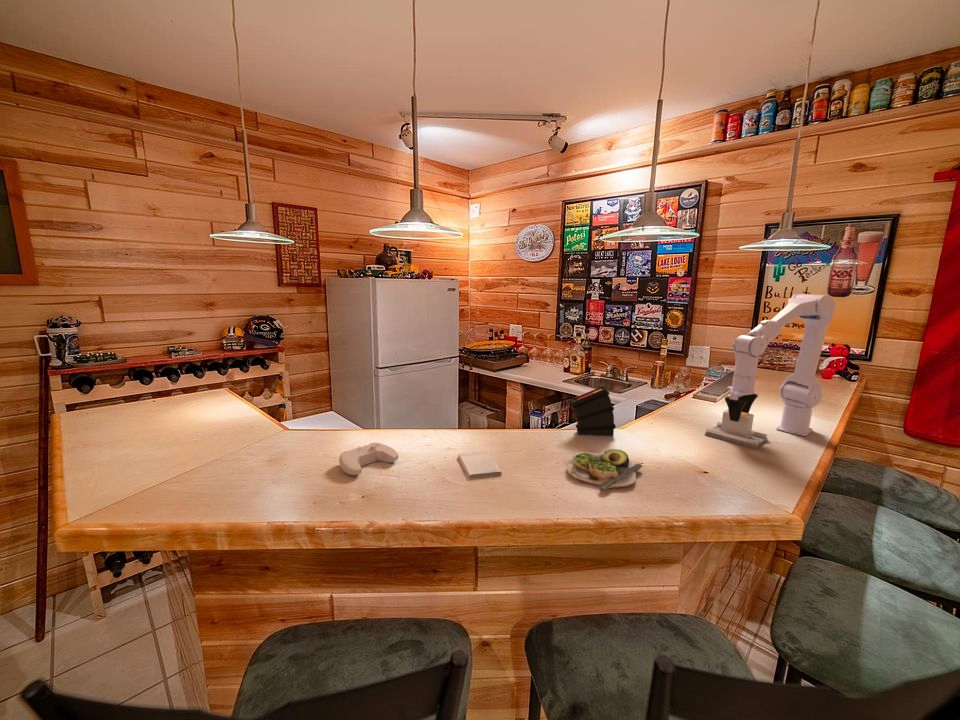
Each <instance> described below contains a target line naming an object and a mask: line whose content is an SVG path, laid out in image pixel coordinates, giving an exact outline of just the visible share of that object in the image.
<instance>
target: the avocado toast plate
mask: <svg viewBox="0 0 960 720" xmlns="http://www.w3.org/2000/svg"><path fill="white" fill-rule="evenodd" d="M569 457H570V458H569V460H568V464H567V465H566V472H567V474H568V475H569V476H570V477H572V478H573V479H574V480H576V481H577V482H579V483H582V484H585V485H587V486H592V487H593V486H595V487H598V488H600V489H602V490H607V489H613V488H614V489H615V488H616V489H617V488H625V487H630V486H632V485H633V484H634V483H635V481H636V474H637V472H638V471H640V469H641V468H642V467H643V465H642V464H641V463H633V461H632V460H631V461H630V458H629V455H628V454H627V453H626V452H625V451H624V450H622V449H617V448H615V449H614V448H612V449H608V450H605V451H604V453H602V454H601V453H600V454H599V453H594V452H588V451H581V452H575V453H574V454H572V455H571V456H569ZM577 468H578V469H580V470H582V471H584V472H587V473H589V474H590V475H591V476H590V478H585V477H582V476H581V475H579V474H578V473H577Z"/></svg>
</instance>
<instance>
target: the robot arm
mask: <svg viewBox="0 0 960 720" xmlns="http://www.w3.org/2000/svg"><path fill="white" fill-rule="evenodd" d="M787 300H788V301H787V305H786V306H784V308H783V309H781V311H779V313H777V314H776V315H775V316H774V317H773V318H772V319H765V320H762V321H760V323H759V324H758V325H757V326H755V327H754V328H752V330H750V331H749V332H747V334H741V335H739V336H738V337H736V338H735V339H734V342H733V343H732V350H733V352H734V353H733V354H734V359H735V361H734V362H735V363H734V369H733V377H732V383H731V385H730V386H727V387H726V388H727V390H730V393H729V395H728V396H724V401H725V403H726V405H727V410H728V409H729V417H730V420H731V421H735V422H738V421H739V419H740V416H741V412H746V413H749V412H750V411H751V408H752V405H753V403H754V402H755V401H756V399H757V398H758V396H759V395H758V393H755V385H756V378H757V370H758V364H759V357H760V356H761V355H763V354H764V353H765V351H766V348H767V347H768V345H769V344H770V342H772V341H773V340H774V339H776V338H777V337H778V336H779V335H780V334H781V333H782V332H781V331H782V328H783V327H785V326H786V325H788V324H789V323H792V322H793V321H794V320H795V319H797V318H799V319H800V320H801V321H803V323H804V324H805V329H804V333H803V337H802V340H801V345H800V349H799V353H798V356H797V359H796V364H795V367H794V372H793V373H792V374H790V375H788V376H785V378H784V381H783V382H782V384H781V386H780V388H779V396H780V398H781V399H782V402H783V403H784V405H783V410H782V415H781V421H780V424H779V426H777V427H776V428H775V430H778V431H781V432H786V433H789V434H794V435H797V436H803V437H807V436H808V435H809V434H810V433H812V431H813V430H814V428H812V427H810V425H811V420H812V415H813V408H815V407H816V406H817V405H819V404H820V402H821V401H822V396H823V394H822V388H823V384H822V382H820V380H819V379H818V378H817V377H816V372H817V369H818V364H819V361H820V357H821V353H822V350H823V346H824V343H825V338H826V334H827V331H828V327H829V324H830V323H831V322H832V320H833V319H832V318H833V315H834V311H835V307H836V304H837V303H836V302H835V300H834V298H833V297H832V296H831V295H830V294H810V293H809V294H804V293H795V294H793V295H792V296H791V297H790V298H789V299H787ZM749 414H750V413H749Z"/></svg>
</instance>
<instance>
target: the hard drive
mask: <svg viewBox="0 0 960 720" xmlns="http://www.w3.org/2000/svg"><path fill="white" fill-rule="evenodd" d="M457 458H458V460H459V462H460V464H461V466H462V469H464V471H465V474H466V476H467V477H468V479H469V480H470V479H471V480H473V479H480V478H482V479H483V478H491V477H500V476H502V475H503V474H502V471H501V469H500V468H499V466H498V465H497V463H496V462H495V461H494V459H493V458H492V456H491V454H490V453H489V452H488V451H479V452H469V453H467V452H466V453H465V452H464V453H460V454H458V457H457Z"/></svg>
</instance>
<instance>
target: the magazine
mask: <svg viewBox="0 0 960 720" xmlns="http://www.w3.org/2000/svg"><path fill="white" fill-rule="evenodd" d="M570 401H571V402H570V404H571V406H572V408H573V409H574V411H575V414H574V416H575V418H576V424H575V428H576V432H577V434H578V436H602V437H603V436H604V437H605V436H606V437H607V436H608V437H613V436H614V434H615V433H614V431H615V429H616V428H617V426H616V425H617V424H615V417H614V410H615V407H614V406H613V405H612V400H611V397H610V392H609V390H607V388H606V387H605V386H604V385H602V386H599V387H597V388H594V389H593V390H590V391H587V392H586V393H583V394H581V395H578V396H576V397H573V398H571V399H570Z"/></svg>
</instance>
